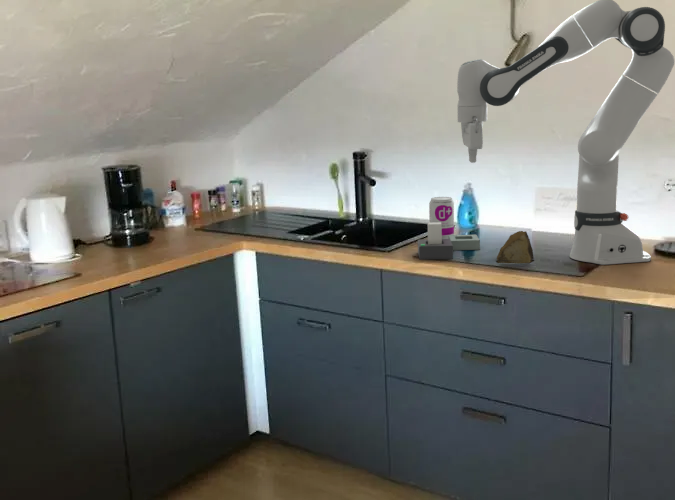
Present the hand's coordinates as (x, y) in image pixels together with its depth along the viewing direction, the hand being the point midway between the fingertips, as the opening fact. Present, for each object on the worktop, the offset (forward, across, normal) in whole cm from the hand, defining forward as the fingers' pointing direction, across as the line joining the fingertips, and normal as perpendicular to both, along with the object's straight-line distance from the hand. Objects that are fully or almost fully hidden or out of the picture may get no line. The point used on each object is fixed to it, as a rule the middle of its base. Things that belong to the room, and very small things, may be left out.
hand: (472, 162), depth 218 cm
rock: (+29, -11, -11) cm, 33 cm away
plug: (+27, -4, +12) cm, 30 cm away
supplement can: (+29, +20, +8) cm, 36 cm away
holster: (+29, +7, +2) cm, 30 cm away
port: (+29, -4, +12) cm, 31 cm away
